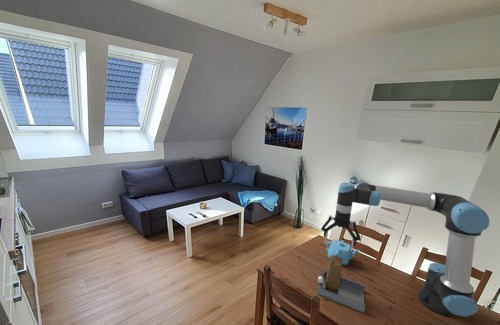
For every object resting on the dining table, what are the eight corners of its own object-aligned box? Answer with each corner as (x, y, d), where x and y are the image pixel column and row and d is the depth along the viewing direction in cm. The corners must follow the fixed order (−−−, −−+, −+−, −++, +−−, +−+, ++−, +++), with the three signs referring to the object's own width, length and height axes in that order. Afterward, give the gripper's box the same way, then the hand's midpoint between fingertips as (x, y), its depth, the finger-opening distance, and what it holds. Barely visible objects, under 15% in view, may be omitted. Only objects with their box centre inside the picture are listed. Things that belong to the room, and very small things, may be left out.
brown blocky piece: (337, 297, 118) (342, 266, 114) (323, 292, 121) (328, 261, 117) (339, 284, 127) (344, 255, 123) (326, 280, 131) (330, 251, 127)
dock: (363, 291, 124) (366, 276, 122) (363, 313, 109) (366, 297, 107) (320, 274, 135) (322, 261, 133) (315, 293, 120) (317, 278, 118)
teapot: (332, 267, 143) (335, 249, 141) (322, 252, 159) (324, 236, 157) (357, 267, 145) (360, 249, 142) (345, 252, 161) (348, 236, 158)
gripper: (369, 214, 112) (363, 249, 116) (321, 203, 123) (317, 236, 128) (369, 219, 105) (363, 257, 110) (318, 207, 117) (314, 242, 121)
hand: (338, 246), depth 119 cm, fingers open, 13 cm apart
